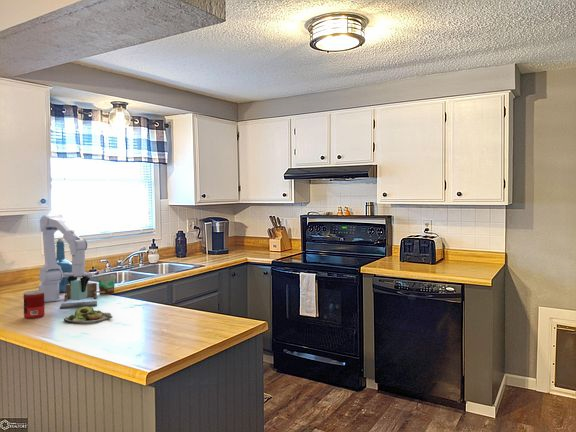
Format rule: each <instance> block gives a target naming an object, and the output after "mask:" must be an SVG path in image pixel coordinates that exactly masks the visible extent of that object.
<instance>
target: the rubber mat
mask: <svg viewBox="0 0 576 432" xmlns="http://www.w3.org/2000/svg"><path fill="white" fill-rule="evenodd" d="M97 305H98V301H97V300H91V301H79V302H78V301H76V302H65V303H64V302H61V304H60V306H59V310H62V309H76V308H77V309H78V308H81V307H84V306H90V307H92V308H93V307H97Z"/></svg>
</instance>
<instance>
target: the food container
mask: <svg viewBox="0 0 576 432" xmlns="http://www.w3.org/2000/svg"><path fill="white" fill-rule="evenodd" d="M116 279H117V276H116V274H115V273H110V274H108V275H104V276H98V277H97V281H98V289H99V290H98V291H99V292H98V293H99V295H111V294H113V293H114V294H115V282H116V281H115V280H116Z"/></svg>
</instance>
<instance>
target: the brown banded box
mask: <svg viewBox="0 0 576 432" xmlns="http://www.w3.org/2000/svg"><path fill="white" fill-rule="evenodd" d="M97 286H98V284H97V282H88V283H87V297H86V298H91V296H92V297H94V300H97V297H98V295H97V293H98V287H97ZM64 293H65V294H64V302H67V301H68V299H71V285H70V284H68V285H66V292H64Z"/></svg>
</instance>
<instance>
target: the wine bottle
mask: <svg viewBox="0 0 576 432" xmlns="http://www.w3.org/2000/svg"><path fill="white" fill-rule="evenodd" d="M55 248H56V249H55V254H56V264H58V265H59V266H61V270H62V273H72V261H70V260H68V259H67V258H66V255H65V253H66V252H65V240H64V238H57V240H56V245H55ZM50 270H54V269H50ZM47 271H49V270H47ZM67 278H69V277H63V278H62V280H61V281H60V282H59V294H60V293H66V285H68V284H70V283H69V282H68V280H67Z"/></svg>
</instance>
